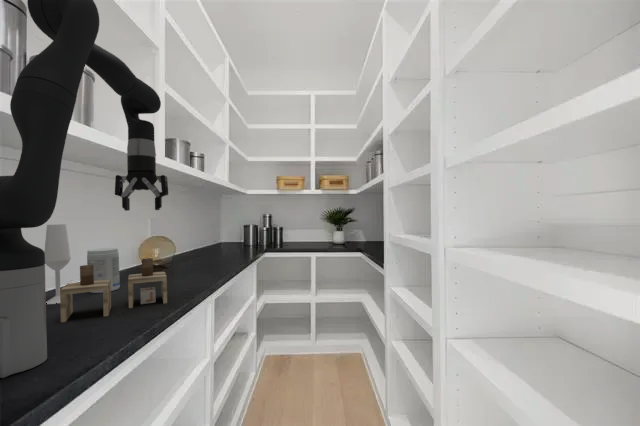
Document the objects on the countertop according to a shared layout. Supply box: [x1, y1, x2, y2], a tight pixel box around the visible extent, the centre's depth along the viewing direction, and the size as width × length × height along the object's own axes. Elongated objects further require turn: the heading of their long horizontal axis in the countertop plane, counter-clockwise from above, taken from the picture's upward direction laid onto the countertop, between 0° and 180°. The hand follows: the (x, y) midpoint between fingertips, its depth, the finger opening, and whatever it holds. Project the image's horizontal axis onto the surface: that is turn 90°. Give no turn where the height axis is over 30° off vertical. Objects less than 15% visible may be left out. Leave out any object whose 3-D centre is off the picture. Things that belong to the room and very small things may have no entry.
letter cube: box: [139, 286, 157, 305], centre depth 104 cm, size 4×4×4 cm
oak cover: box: [127, 257, 168, 309], centre depth 104 cm, size 10×10×13 cm
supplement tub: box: [86, 247, 121, 294], centre depth 122 cm, size 10×10×15 cm
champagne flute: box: [43, 223, 71, 305], centre depth 107 cm, size 7×7×24 cm
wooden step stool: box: [59, 264, 112, 323], centre depth 92 cm, size 10×10×13 cm
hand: (142, 210), depth 102 cm, fingers open, 8 cm apart
